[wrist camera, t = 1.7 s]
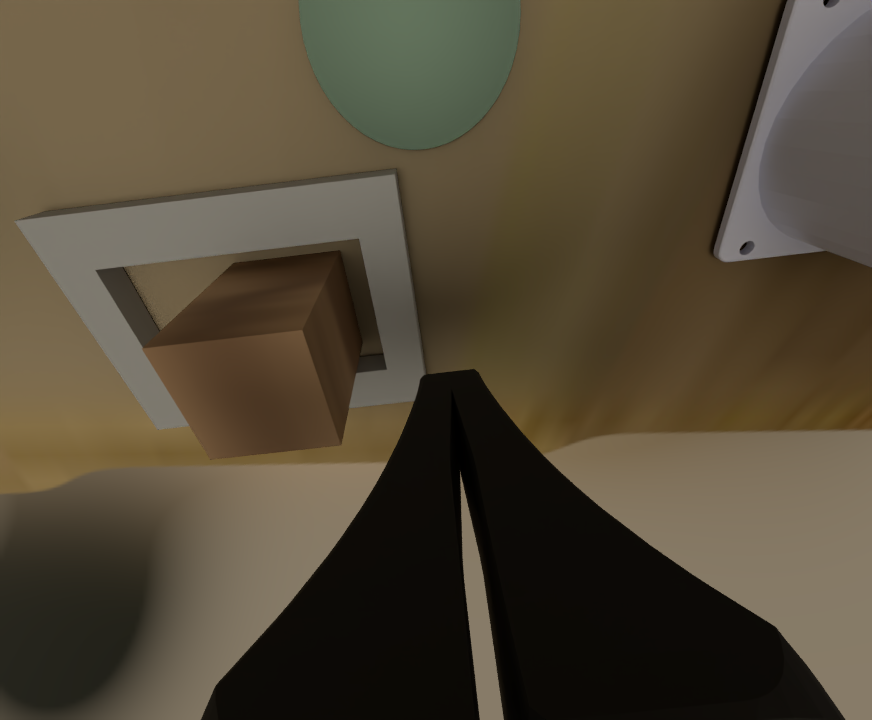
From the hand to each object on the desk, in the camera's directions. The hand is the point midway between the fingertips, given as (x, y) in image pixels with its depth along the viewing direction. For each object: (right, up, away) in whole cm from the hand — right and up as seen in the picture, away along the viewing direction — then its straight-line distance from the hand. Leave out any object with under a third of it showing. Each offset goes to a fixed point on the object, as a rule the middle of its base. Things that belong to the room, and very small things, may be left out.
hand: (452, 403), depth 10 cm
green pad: (-1, +11, +1) cm, 11 cm away
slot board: (-7, +3, +6) cm, 10 cm away
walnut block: (-6, +3, +6) cm, 9 cm away
